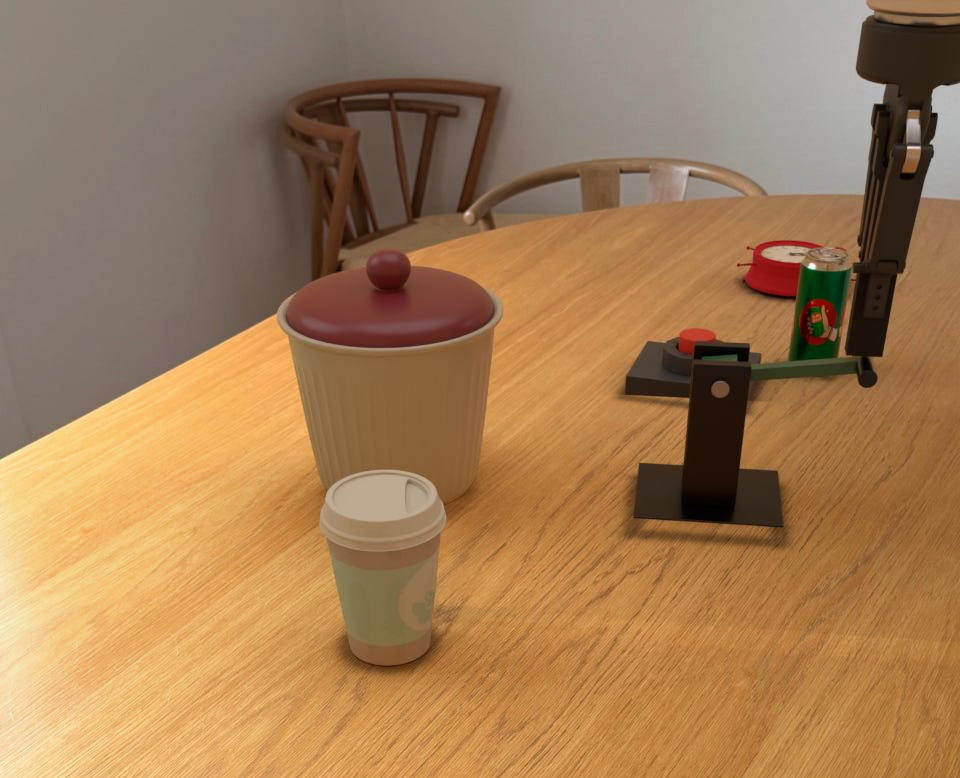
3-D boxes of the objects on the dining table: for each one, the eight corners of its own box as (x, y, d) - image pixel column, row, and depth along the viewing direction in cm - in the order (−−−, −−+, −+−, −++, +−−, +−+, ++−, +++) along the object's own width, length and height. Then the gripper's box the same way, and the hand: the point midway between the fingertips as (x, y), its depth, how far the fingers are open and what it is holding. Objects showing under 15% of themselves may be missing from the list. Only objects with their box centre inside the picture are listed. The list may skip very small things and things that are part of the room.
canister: (413, 565, 99) (401, 305, 87) (251, 502, 108) (221, 258, 96) (543, 481, 111) (549, 241, 99) (388, 430, 120) (376, 205, 108)
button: (717, 346, 127) (718, 329, 126) (710, 359, 125) (712, 342, 124) (681, 342, 128) (683, 326, 127) (675, 355, 126) (676, 338, 125)
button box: (759, 373, 131) (763, 336, 129) (744, 411, 123) (749, 372, 121) (646, 360, 134) (648, 324, 132) (624, 396, 126) (626, 358, 124)
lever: (869, 363, 101) (870, 335, 99) (877, 393, 96) (878, 363, 94) (703, 375, 103) (701, 347, 102) (702, 405, 98) (701, 376, 97)
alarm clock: (745, 237, 157) (870, 220, 152) (751, 286, 160) (873, 271, 155) (732, 263, 149) (863, 245, 143) (738, 314, 152) (867, 298, 146)
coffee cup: (409, 690, 86) (401, 537, 79) (307, 656, 89) (291, 506, 82) (471, 629, 92) (469, 482, 85) (373, 599, 95) (363, 455, 88)
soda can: (809, 355, 135) (825, 243, 128) (846, 369, 131) (865, 255, 125) (776, 366, 132) (791, 252, 126) (813, 381, 129) (831, 265, 122)
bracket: (775, 485, 110) (796, 333, 102) (781, 542, 102) (804, 381, 94) (638, 477, 111) (648, 327, 104) (632, 532, 103) (642, 374, 96)
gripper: (854, 0, 90) (808, 321, 103) (874, 29, 79) (819, 383, 92) (963, 2, 89) (902, 325, 102) (998, 31, 78) (925, 388, 91)
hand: (863, 352), depth 97 cm, fingers closed
